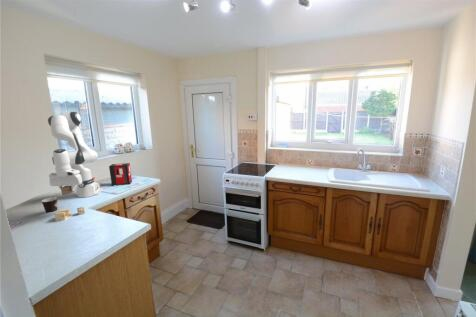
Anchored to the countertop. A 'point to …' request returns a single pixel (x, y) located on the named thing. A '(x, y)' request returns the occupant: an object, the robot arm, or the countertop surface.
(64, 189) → the walnut cube
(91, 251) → the countertop surface
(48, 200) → the coffee mug
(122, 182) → the cleaning product box
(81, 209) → the maple dowel
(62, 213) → the oak block
